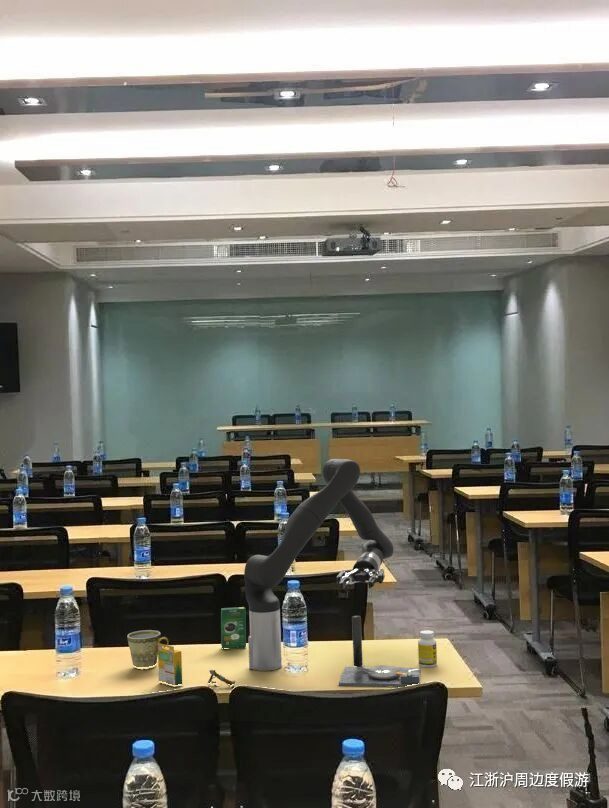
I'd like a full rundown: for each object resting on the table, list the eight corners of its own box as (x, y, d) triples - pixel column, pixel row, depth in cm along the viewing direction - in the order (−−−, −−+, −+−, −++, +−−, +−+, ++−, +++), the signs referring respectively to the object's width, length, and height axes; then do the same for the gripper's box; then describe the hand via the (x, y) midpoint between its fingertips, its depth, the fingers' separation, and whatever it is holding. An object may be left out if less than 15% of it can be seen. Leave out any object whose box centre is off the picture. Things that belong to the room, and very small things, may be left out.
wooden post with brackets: (206, 681, 242) (211, 667, 241) (230, 694, 239) (235, 680, 239) (203, 683, 240) (209, 668, 239) (227, 696, 238) (233, 682, 237)
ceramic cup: (122, 671, 257) (121, 638, 257) (136, 661, 266) (135, 629, 267) (162, 673, 254) (161, 639, 254) (175, 663, 263) (174, 630, 264)
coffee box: (245, 645, 281) (244, 605, 281) (247, 648, 278) (245, 607, 278) (221, 648, 279) (219, 607, 279) (222, 650, 276) (221, 609, 276)
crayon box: (183, 685, 241) (181, 644, 241) (174, 688, 239) (173, 646, 239) (166, 680, 246) (165, 640, 246) (158, 683, 244) (157, 642, 244)
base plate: (338, 685, 236) (338, 671, 236) (345, 669, 251) (344, 656, 251) (419, 687, 232) (418, 672, 233) (420, 670, 247) (420, 657, 247)
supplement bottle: (436, 668, 249) (435, 634, 249) (418, 667, 250) (416, 634, 250) (437, 662, 254) (436, 629, 255) (419, 662, 256) (418, 629, 256)
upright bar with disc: (416, 675, 240) (414, 620, 240) (399, 683, 233) (397, 627, 233) (363, 664, 252) (361, 613, 252) (345, 672, 245) (343, 619, 245)
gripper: (344, 556, 273) (331, 574, 258) (387, 554, 269) (377, 573, 254) (347, 578, 274) (334, 598, 259) (390, 577, 270) (380, 597, 255)
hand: (355, 585), depth 257 cm, fingers open, 8 cm apart
